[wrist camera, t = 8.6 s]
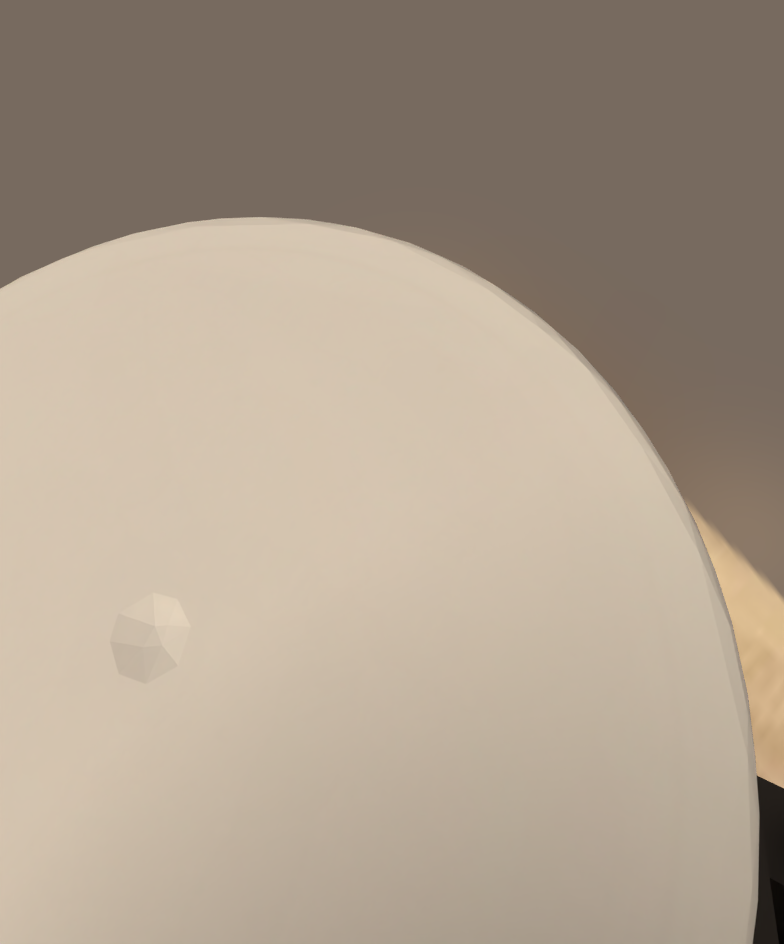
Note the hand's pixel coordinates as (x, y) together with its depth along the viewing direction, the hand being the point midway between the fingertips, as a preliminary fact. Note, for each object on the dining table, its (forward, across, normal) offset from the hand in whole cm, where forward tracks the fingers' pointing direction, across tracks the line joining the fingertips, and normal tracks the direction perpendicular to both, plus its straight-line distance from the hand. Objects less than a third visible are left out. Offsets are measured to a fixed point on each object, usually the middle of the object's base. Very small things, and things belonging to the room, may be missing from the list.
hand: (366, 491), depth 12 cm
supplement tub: (+2, 0, -6) cm, 7 cm away
